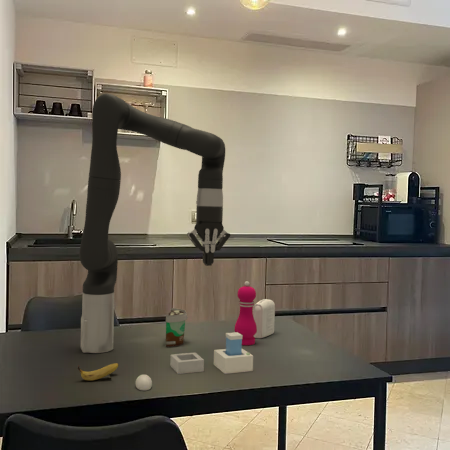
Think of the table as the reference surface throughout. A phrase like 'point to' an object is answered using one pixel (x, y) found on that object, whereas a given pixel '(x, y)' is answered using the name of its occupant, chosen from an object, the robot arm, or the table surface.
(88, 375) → the banana
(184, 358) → the box
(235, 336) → the plug
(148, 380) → the egg
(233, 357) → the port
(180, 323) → the food container
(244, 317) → the pepper mill
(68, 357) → the table surface
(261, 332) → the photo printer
